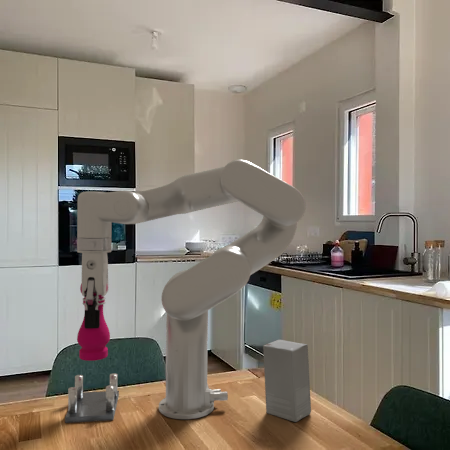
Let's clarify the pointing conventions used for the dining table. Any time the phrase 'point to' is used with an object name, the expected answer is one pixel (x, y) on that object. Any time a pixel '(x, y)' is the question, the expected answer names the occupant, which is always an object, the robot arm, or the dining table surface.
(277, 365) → the skincare box
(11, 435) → the dining table surface
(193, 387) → the robot arm
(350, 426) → the dining table surface
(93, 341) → the pepper mill
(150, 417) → the dining table surface
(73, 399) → the stand
